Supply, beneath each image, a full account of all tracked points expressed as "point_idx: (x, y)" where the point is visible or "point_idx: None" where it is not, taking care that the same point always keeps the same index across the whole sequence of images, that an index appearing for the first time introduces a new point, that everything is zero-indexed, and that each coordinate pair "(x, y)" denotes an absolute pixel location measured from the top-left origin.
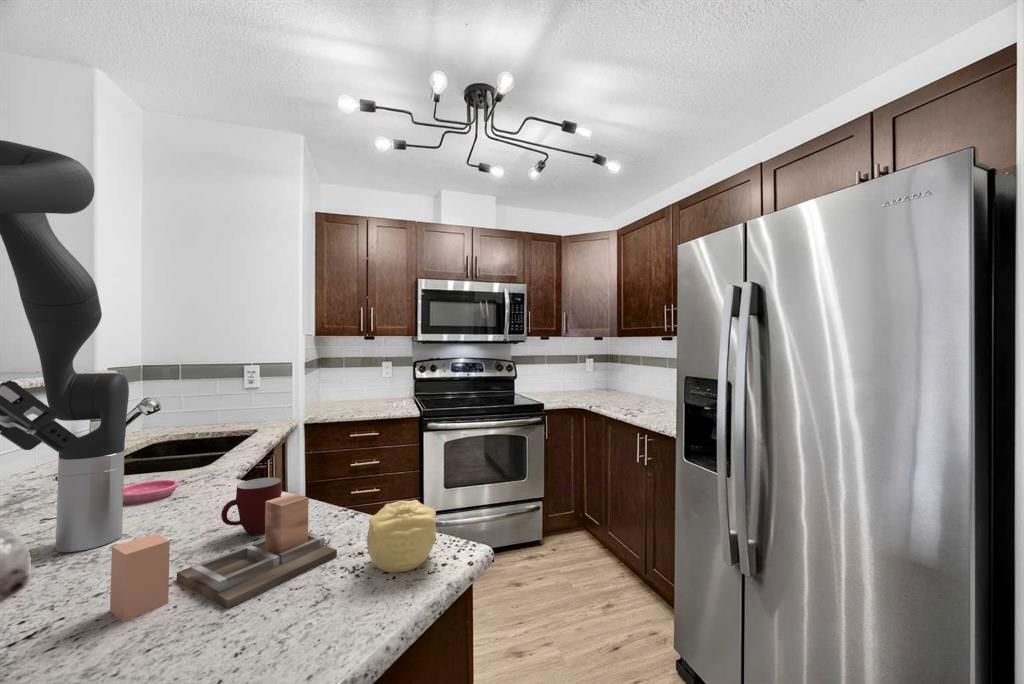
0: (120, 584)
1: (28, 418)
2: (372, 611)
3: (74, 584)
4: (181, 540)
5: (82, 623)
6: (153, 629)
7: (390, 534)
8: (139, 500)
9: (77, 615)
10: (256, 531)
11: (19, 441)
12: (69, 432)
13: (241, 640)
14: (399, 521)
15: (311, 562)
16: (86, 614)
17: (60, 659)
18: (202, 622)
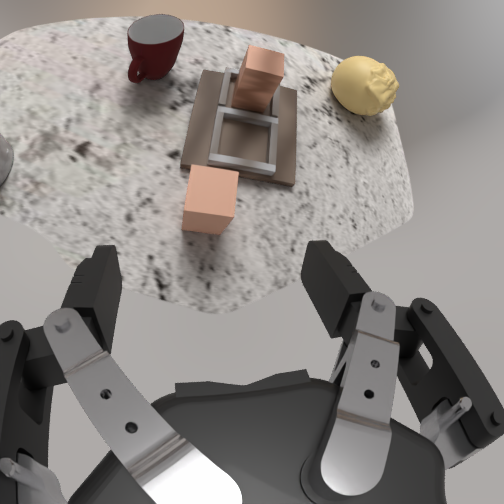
0: (213, 225)
1: (426, 365)
2: (384, 160)
3: (77, 218)
4: (82, 115)
5: (183, 253)
6: (263, 231)
7: (387, 103)
8: None
9: (159, 248)
10: (163, 75)
11: (116, 306)
12: (339, 258)
13: (343, 214)
14: (392, 93)
15: (296, 112)
16: (166, 243)
17: (236, 288)
18: (292, 208)
